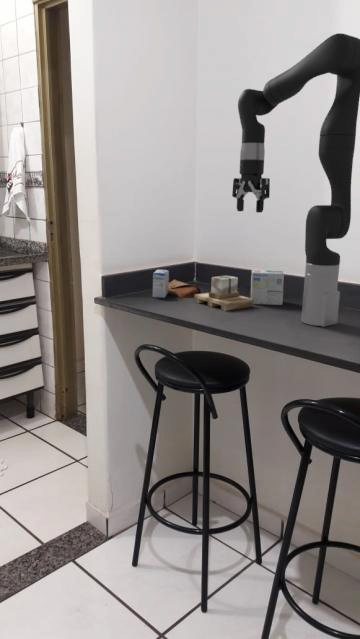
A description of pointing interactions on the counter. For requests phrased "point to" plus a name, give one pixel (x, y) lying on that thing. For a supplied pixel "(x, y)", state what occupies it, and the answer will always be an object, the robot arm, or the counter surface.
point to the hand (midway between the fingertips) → (249, 211)
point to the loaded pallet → (224, 287)
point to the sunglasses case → (182, 289)
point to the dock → (225, 301)
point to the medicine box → (160, 283)
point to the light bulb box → (267, 287)
